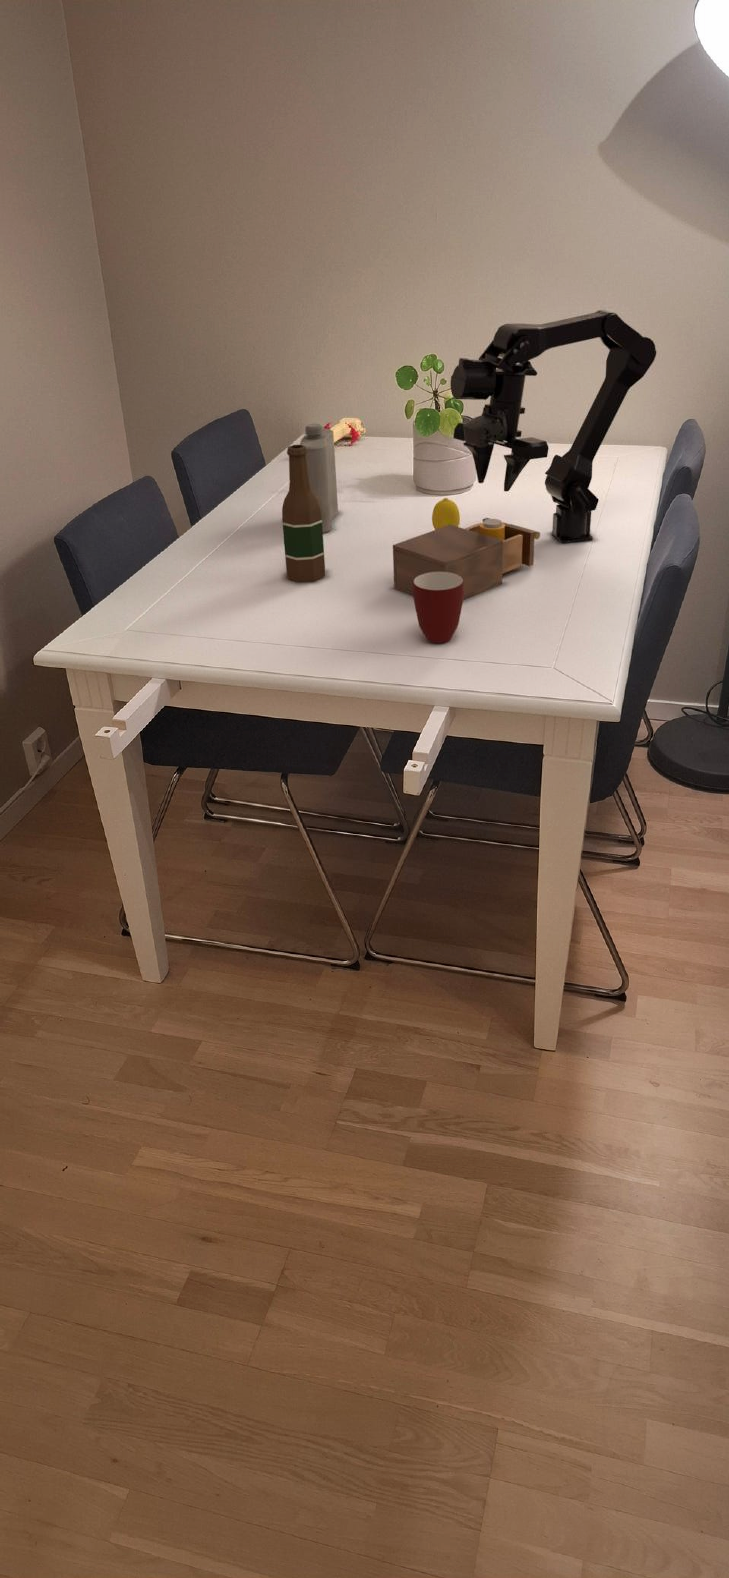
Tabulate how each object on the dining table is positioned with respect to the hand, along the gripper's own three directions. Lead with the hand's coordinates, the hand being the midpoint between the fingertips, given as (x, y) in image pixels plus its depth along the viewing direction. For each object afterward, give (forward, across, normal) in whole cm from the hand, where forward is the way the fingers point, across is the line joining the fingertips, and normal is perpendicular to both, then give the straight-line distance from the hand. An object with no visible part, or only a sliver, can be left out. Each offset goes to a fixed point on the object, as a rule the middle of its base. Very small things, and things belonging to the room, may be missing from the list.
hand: (493, 487), depth 205 cm
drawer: (+12, +7, -5) cm, 15 cm away
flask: (+16, -39, -8) cm, 43 cm away
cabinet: (+15, +7, -17) cm, 23 cm away
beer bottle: (+18, -17, -30) cm, 39 cm away
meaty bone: (+13, -81, +33) cm, 88 cm away
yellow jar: (+11, +6, -5) cm, 14 cm away
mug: (+16, +20, -33) cm, 42 cm away
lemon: (+13, -12, +2) cm, 18 cm away
